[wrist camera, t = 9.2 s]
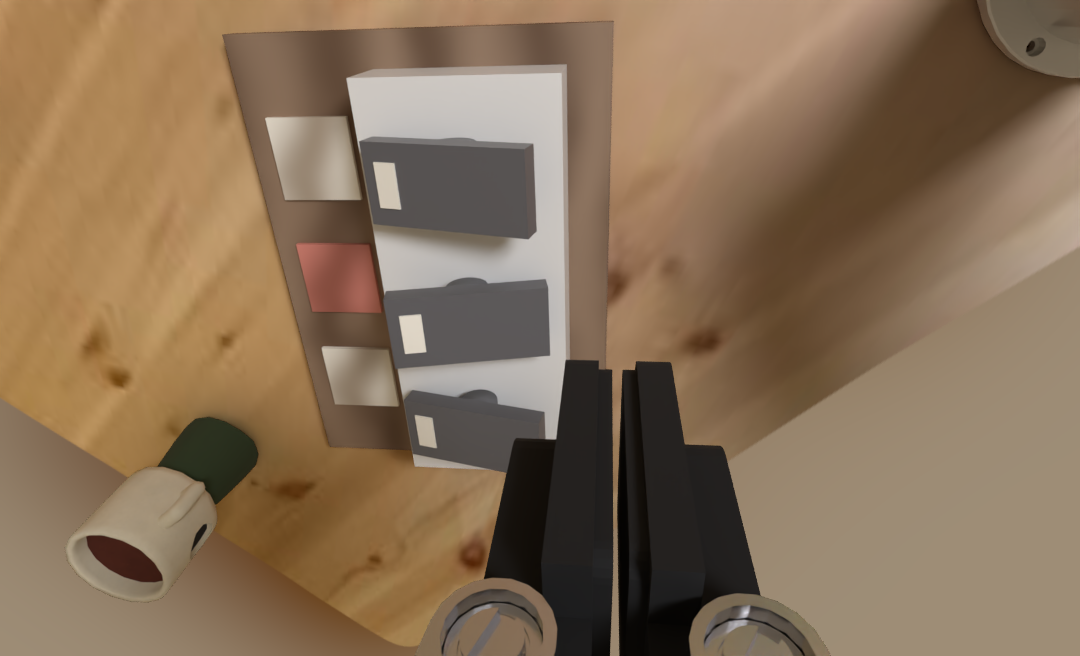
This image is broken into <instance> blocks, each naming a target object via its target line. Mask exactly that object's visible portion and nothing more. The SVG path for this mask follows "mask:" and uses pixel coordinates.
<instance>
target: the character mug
mask: <svg viewBox="0 0 1080 656" xmlns="http://www.w3.org/2000/svg"><path fill="white" fill-rule="evenodd" d="M257 457H258V452H257V449H256V447H255V444H254V441H253V440H251V439H250V438H249V437H248V436H247V435H245V434H244V433H243V432H242V431H240V430H238V429H237V428H235V427H233V426H231V425H230V424H228V423H226V422H224V421H220V420H217V419H213V418H210V417H207V418H199V419H195V420H194V421H193V422H191V423H190V424H189V425H188V426H187V427H186V428H185V429H184V431H183V432H182V433H181V434H180V436H179V437H178V438H177V439H176V441H175V442H174V443H173V445H172V446H171V448H170V449H169V451H168V452H167V453H166V455H165V456H164V458H163V459H162V461H161V462H160V463H159V465H158V466H157V467H146V468H144V469H141V470H139V471H137V472H135V473H133V474H132V475H131V476H130V477H128V479H127V480H126V481H125V482H124V483H123V484H122V485H121V486H120V487H119V488H118V489H117V490H116V491H115V492H114V493H113V494H112V495H111V496H110V497H109V498H108V499H107V500H106V501H105V502H104V503H103V504H102V505H101V506H100V507H99V508H98V509H97V510H96V511H95V512H94V513H93V514H92V515H91V516H90V517H89V518H88V519H87V520H86V521H85V522H84V523H83V524H82V525H81V526H80V527H79V528H78V529H77V530H76V531H75V533H73V534H72V536H71V537H70V538H69V540H68V542H67V544H66V546H65V552H66V557H67V561H68V563H69V564H70V566H71V567H72V568H73V570H74V571H75V573H76V574H77V575H78V576H79V577H80V578H82V579H83V580H84V581H85V582H87V583H88V584H89V585H90V586H92V587H93V588H95V589H97V590H99V591H102V592H103V593H105V594H107V595H109V596H112V597H116V598H119V599H123V600H126V601H130V602H151V601H156V600H159V599H161V598H163V597H164V595H165V594H166V593H167V592H168V591H169V590H170V588H171V587H172V586H173V584H174V583H175V582H176V580H177V579H178V578H179V576H180V575H181V574H182V572H183V571H184V570H185V568H186V567H187V565H188V564H189V563H190V561H191V560H192V559H193V557H194V556H195V555H196V553H197V552H198V551H199V549H200V548H201V547H202V545H203V544H204V542H205V541H206V540H207V538H208V537H209V536H210V534H211V533H212V531H213V530H214V528H215V526H216V524H217V511H216V506H215V504H217V503H218V502H220V501H221V500H222V499H223V498H224V497H225V496H226V495H227V494H228V493H229V492H230V491H231V490H232V489H233V488H234V487H235V486H236V485H237V484H238V483H239V482H240V481H241V480H242V479H243V478H244V477H245V476H246V475H247V474H248V473H249V472H250V471H251V470H252V468H253V467H254V466H255V465H256V462H257Z"/></svg>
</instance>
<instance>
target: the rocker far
mask: <svg viewBox="0 0 1080 656" xmlns="http://www.w3.org/2000/svg"><path fill="white" fill-rule="evenodd" d="M404 406H405V412H406V417H407V423H408V429H409V435H410V440H411V446H412V452H413V454H416V455H421V456H426V457H431V458H436V459H441V460H446V461H451V462H456V463H461V464H466V465H471V466H476V467H481V468H486V469H491V470H496V471H501V472H506V473H507V469H508V465H509V460H510V455H511V451H512V446H513V443H514V440H515V439H516V438H531V439H546V436H545V412H542V411H536V410H530V409H524V408H518V407H512V406H506V405H500V404H498V400H497V396H496V395H495V394H494V393H493V392H491V391H489V390H482V389H480V390H473V391H470V392H468V393H466V394H464V395H463V396H462V397H461V398H458V397H452V396H446V395H440V394H434V393H428V392H422V391H416V390H412V391H411V392H410V393H409V395H408V396H407V397H406V398H405V399H404Z"/></svg>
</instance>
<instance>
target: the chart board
mask: <svg viewBox="0 0 1080 656" xmlns="http://www.w3.org/2000/svg"><path fill="white" fill-rule="evenodd" d="M613 24H614V21H597V22H566V23H536V24H505V25H475V26H445V27H414V28H384V29H353V30H323V31H292V32H262V33H233V34H224V35H222V36H223V39H224V43H225V47H226V51H227V55H228V59H229V62H230V66H231V70H232V74H233V78H234V81H235V85H236V89H237V93H238V97H239V101H240V104H241V108H242V112H243V116H244V120H245V124H246V127H247V131H248V135H249V139H250V143H251V147H252V150H253V154H254V158H255V162H256V166H257V170H258V173H259V177H260V181H261V185H262V189H263V193H264V196H265V200H266V204H267V208H268V212H269V216H270V219H271V223H272V227H273V231H274V235H275V239H276V242H277V246H278V250H279V254H280V258H281V262H282V265H283V269H284V273H285V277H286V281H287V285H288V288H289V292H290V296H291V300H292V304H293V307H294V311H295V315H296V319H297V323H298V327H299V330H300V334H301V338H302V342H303V346H304V350H305V353H306V357H307V361H308V365H309V369H310V373H311V376H312V380H313V384H314V388H315V392H316V396H317V399H318V403H319V407H320V411H321V415H322V419H323V422H324V426H325V430H326V434H327V438H328V442H329V445H330V447H349V448H372V449H396V450H412V448H411V442H410V436H409V431H408V425H407V419H406V414H405V408H404V402H403V397H402V391H401V385H400V379H399V374H398V369H395V364H394V358H393V353H392V347H391V342H390V336H389V330H388V325H387V319H386V314H385V308H384V302H383V300H384V296H385V294H384V289H383V283H382V277H381V272H380V266H379V260H378V255H377V249H376V243H375V238H374V232H373V226H372V221H371V215H370V209H369V204H368V198H367V192H366V187H365V181H364V175H363V170H362V164H361V158H360V153H359V147H358V141H357V136H356V130H355V124H354V119H353V113H352V107H351V102H350V96H349V90H348V85H347V79H346V78H348V77H351V76H354V75H357V74H360V73H363V72H366V71H369V70H372V69H402V68H441V67H480V66H519V65H558V64H567V138H568V232H569V325H570V360H599V369H605V366H606V323H607V281H608V238H609V195H610V153H611V110H612V67H613Z"/></svg>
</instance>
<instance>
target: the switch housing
mask: <svg viewBox="0 0 1080 656" xmlns="http://www.w3.org/2000/svg"><path fill="white" fill-rule="evenodd" d="M346 79H347V85H348V90H349V96H350V102H351V107H352V113H353V119H354V124H355V130H356V136H357V141H358V147H359V153H360V158H361V164H362V170H363V175H364V181H365V187H366V192H367V198H368V204H369V209H370V215H371V221H372V226H373V232H374V238H375V243H376V249H377V255H378V260H379V266H380V272H381V277H382V283H383V289H384V294H385V292H386V291H395V290H408V289H421V288H435V287H446V285H447V284H448V283H450V282H451V281H454V280H456V279H460V278H467V277H474V278H480V279H483V280H485V281H486V282H487V283H501V282H514V281H527V280H540V279H546V282H547V285H548V298H549V332H550V356H541V357H529V358H517V359H506V360H494V361H482V362H471V363H459V364H447V365H436V366H424V367H412V368H401V369H398V374H399V379H400V385H401V391H402V397H403V402H404V399H405V398H406V397H407V396H408V395H409V393H410V392H411V391H412V390H416V391H422V392H428V393H434V394H440V395H446V396H452V397H458V398H461V397H462V396H463V395H464V394H466V393H468V392H470V391H473V390H480V389H482V390H489V391H491V392H493V393H494V394H495V395H496V396H497V400H498V404H500V405H506V406H512V407H518V408H524V409H530V410H536V411H542V412H545V436H546V439H556V435H557V427H558V418H559V410H560V402H561V393H562V385H563V377H564V368H565V361H566V360H570V325H569V232H568V138H567V64H558V65H519V66H480V67H441V68H402V69H372V70H369V71H366V72H363V73H360V74H357V75H354V76H351V77H348V78H346ZM372 136H376V137H398V138H421V139H444V138H471V139H474V140H476V141H488V142H510V143H533V146H534V173H535V199H536V226H537V232H536V233H534V234H533V235H532V236H531V237H530V238H529V239H519V238H509V237H498V236H488V235H478V234H468V233H457V232H447V231H437V230H427V229H417V228H406V227H396V226H386V225H376V224H373V219H372V213H371V207H370V202H369V196H368V190H367V184H366V179H365V173H364V167H363V162H362V156H361V150H360V145H359V141H361V140H364V139H366V138H369V137H372ZM404 408H405V406H404ZM405 414H406V412H405ZM406 419H407V417H406ZM407 425H408V423H407ZM408 431H409V429H408ZM409 436H410V435H409ZM410 442H411V440H410ZM411 448H412V446H411ZM412 453H413V452H412ZM413 459H414V465H415V466H416V467H438V468H460V469H483V470H491V469H486V468H481V467H476V466H471V465H466V464H461V463H456V462H451V461H446V460H441V459H436V458H431V457H426V456H421V455H416V454H413Z"/></svg>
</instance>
